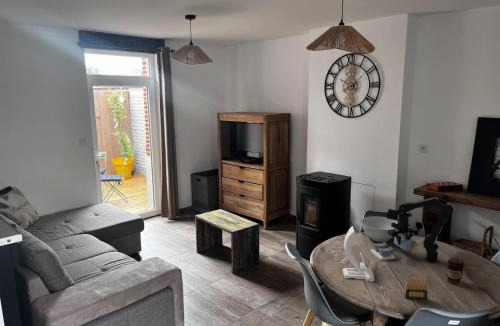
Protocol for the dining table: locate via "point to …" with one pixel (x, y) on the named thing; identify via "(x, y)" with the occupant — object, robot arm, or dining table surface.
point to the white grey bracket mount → (382, 251)
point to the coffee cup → (454, 270)
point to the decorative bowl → (378, 228)
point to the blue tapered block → (403, 243)
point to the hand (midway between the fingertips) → (402, 244)
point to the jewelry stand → (356, 272)
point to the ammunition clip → (416, 289)
